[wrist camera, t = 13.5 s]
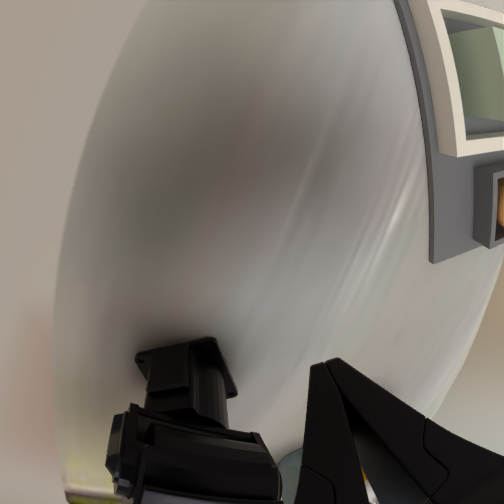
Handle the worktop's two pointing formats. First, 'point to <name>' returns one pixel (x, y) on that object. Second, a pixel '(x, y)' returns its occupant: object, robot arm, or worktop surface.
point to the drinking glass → (290, 475)
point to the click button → (500, 202)
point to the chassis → (454, 130)
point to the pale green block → (480, 71)
